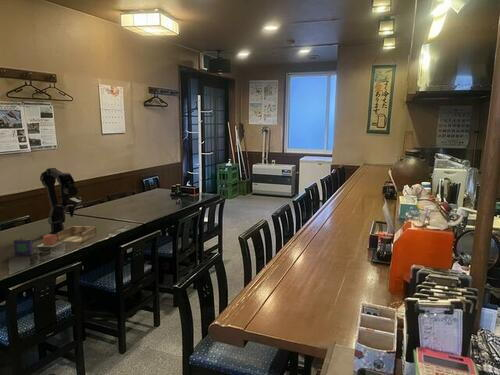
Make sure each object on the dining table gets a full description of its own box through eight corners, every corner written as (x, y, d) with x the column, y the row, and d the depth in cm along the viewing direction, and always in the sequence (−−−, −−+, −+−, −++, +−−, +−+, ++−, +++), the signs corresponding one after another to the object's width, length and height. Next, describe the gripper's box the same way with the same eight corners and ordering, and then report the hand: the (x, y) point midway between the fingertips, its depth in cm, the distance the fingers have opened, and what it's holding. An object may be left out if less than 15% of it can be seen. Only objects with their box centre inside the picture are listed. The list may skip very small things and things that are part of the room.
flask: (34, 254, 192) (32, 235, 190) (31, 256, 189) (29, 236, 188) (16, 254, 191) (14, 235, 190) (13, 256, 189) (11, 237, 187)
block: (43, 245, 204) (42, 236, 203) (49, 242, 209) (48, 234, 208) (51, 245, 204) (51, 237, 203) (57, 242, 209) (56, 234, 208)
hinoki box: (57, 242, 212) (57, 232, 211) (72, 235, 226) (71, 226, 225) (83, 243, 211) (83, 233, 210) (96, 235, 225) (95, 226, 224)
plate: (36, 248, 202) (36, 246, 202) (47, 242, 212) (47, 240, 212) (53, 248, 201) (53, 247, 201) (63, 243, 211) (63, 241, 211)
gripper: (69, 197, 207) (71, 223, 210) (86, 191, 225) (88, 215, 228) (51, 196, 208) (53, 222, 211) (69, 191, 226) (71, 215, 229)
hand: (67, 218), depth 219 cm, fingers open, 9 cm apart
